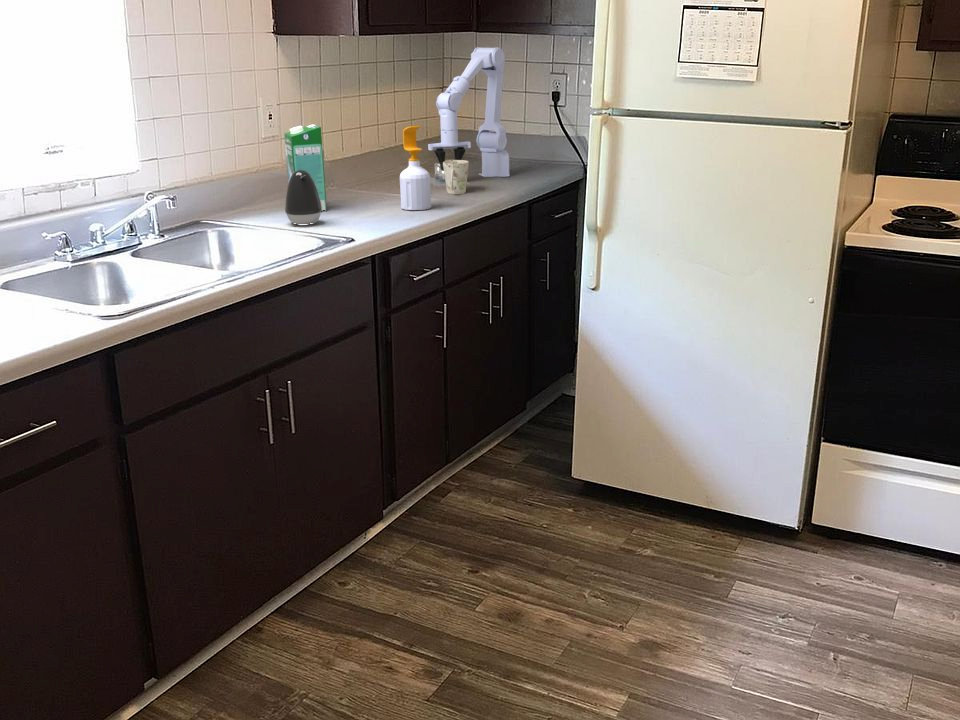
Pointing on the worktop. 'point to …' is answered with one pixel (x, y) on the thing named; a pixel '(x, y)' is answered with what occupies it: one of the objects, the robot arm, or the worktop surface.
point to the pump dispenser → (302, 199)
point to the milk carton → (307, 156)
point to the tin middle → (441, 175)
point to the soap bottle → (414, 176)
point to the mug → (456, 176)
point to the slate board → (438, 182)
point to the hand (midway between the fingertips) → (450, 170)
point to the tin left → (437, 170)
